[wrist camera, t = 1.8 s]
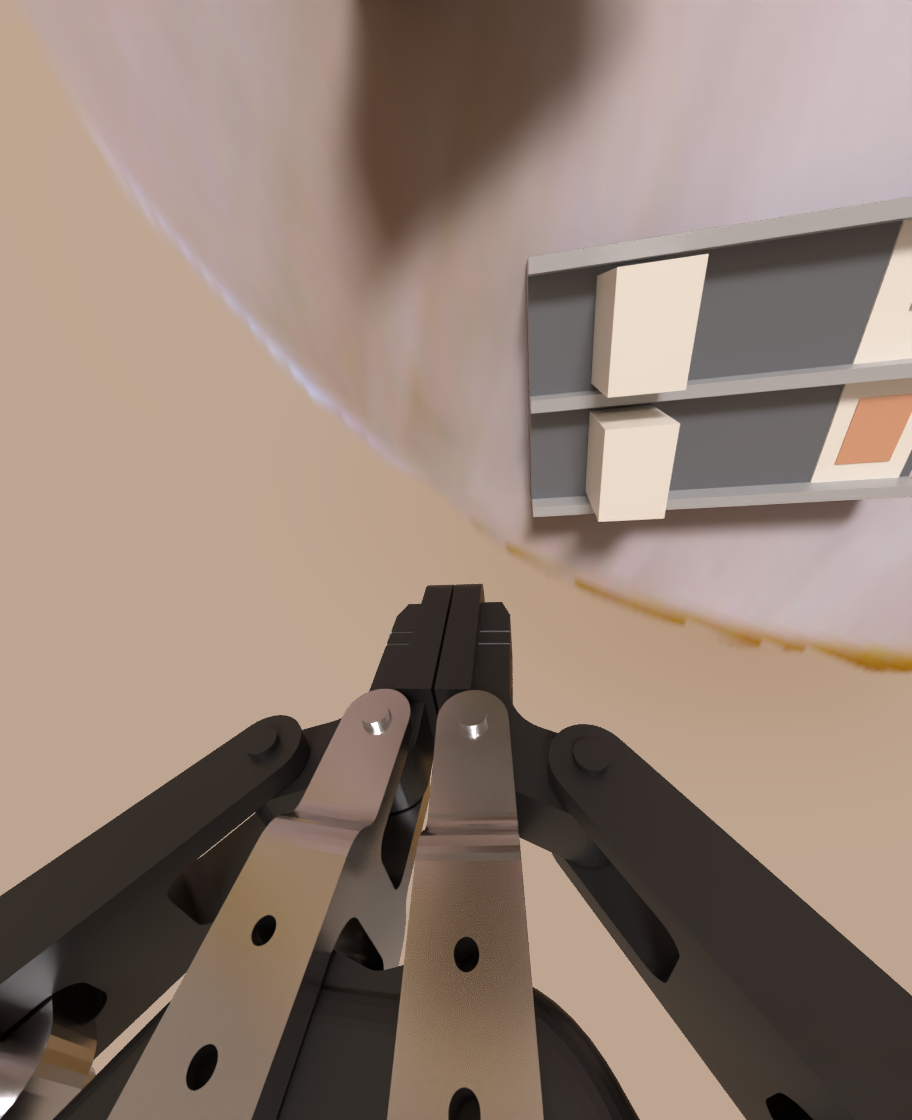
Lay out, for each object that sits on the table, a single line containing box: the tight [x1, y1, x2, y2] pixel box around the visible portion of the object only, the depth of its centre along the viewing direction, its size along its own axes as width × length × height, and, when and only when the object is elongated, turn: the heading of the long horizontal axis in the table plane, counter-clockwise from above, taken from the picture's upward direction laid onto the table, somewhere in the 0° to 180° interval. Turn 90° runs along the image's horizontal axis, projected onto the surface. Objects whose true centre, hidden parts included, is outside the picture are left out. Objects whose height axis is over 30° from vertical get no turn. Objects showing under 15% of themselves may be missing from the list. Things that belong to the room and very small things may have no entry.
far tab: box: [585, 405, 680, 522], centre depth 20 cm, size 3×4×4 cm
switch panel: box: [526, 197, 912, 517], centre depth 20 cm, size 19×12×3 cm, turn 97°
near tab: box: [591, 254, 709, 398], centre depth 17 cm, size 3×4×4 cm
